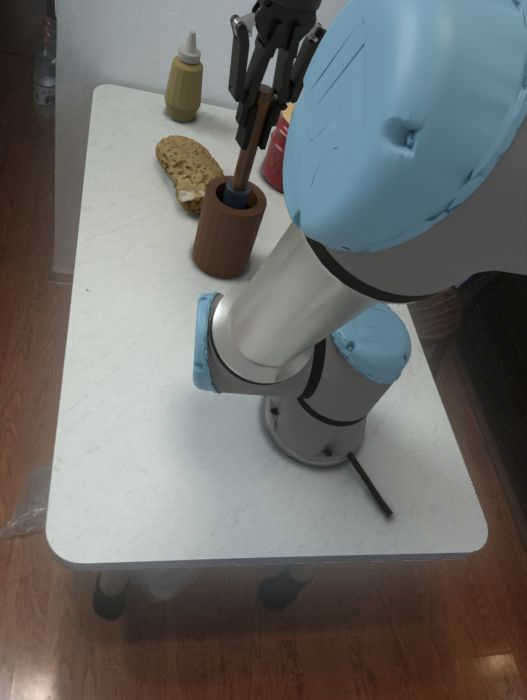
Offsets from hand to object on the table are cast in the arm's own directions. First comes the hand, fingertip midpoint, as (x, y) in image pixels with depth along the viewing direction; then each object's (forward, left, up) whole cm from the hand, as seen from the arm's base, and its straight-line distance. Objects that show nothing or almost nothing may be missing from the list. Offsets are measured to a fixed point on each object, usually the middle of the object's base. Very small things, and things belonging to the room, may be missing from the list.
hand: (250, 144), depth 79 cm
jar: (0, 0, -23) cm, 23 cm away
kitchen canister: (+6, -32, -23) cm, 40 cm away
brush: (0, 0, -14) cm, 14 cm away
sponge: (+17, -11, -23) cm, 31 cm away
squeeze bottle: (+35, -29, -23) cm, 51 cm away
